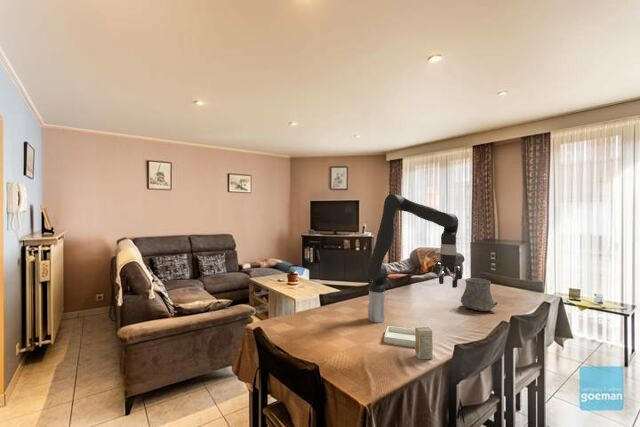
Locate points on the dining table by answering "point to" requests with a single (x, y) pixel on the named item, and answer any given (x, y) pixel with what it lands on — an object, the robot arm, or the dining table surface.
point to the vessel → (478, 295)
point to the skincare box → (423, 343)
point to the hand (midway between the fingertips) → (447, 285)
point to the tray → (400, 336)
